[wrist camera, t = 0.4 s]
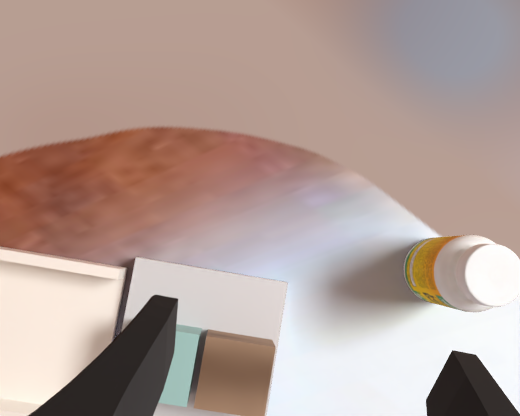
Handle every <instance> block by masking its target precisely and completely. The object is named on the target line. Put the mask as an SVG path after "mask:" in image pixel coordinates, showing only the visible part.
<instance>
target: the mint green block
mask: <svg viewBox="0 0 520 416" xmlns="http://www.w3.org/2000/svg"><path fill="white" fill-rule="evenodd" d="M201 331H202V328H197V327H191V326H185V325H179V324H176V337H175V350H174V355H173V359H172V362H171V366H170V369H169V373H168V376H167V380H166V383H165V386H164V390H163V392H162V395H161V397H160V400H159V402H158V403H163V404H169V405H176V406H182V407H187V404H188V400H189V397H190V392H191V387H192V381H193V376H194V370H195V364H196V359H197V353H198V348H199V342H200V337H201Z"/></svg>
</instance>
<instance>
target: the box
mask: <svg viewBox="0 0 520 416" xmlns="http://www.w3.org/2000/svg"><path fill="white" fill-rule="evenodd" d="M127 269H128V268H126V267H120V266H114V265H108V264H102V263H96V262H90V261H84V260H78V259H72V258H66V257H60V256H54V255H48V254H42V253H36V252H30V251H24V250H19V249H13V248H7V247H1V246H0V416H28V415H29V414H31V413H32V412H34V411H35V410H36V409H38V408H39V407H40V406H41V405H43V404H44V403H45V402H46V401H48V400H49V399H50V398H51V397H53V396H54V395H55V394H56V393H57V392H59V391H60V390H61V389H62V388H63V387H65V386H66V385H67V384H68V383H69V382H70V381H71V380H73V379H74V378H75V377H76V376H77V375H78V374H79V373H80V372H81V371H82V370H83V369H85V368H86V367H87V366H88V365H89V364H90V363H91V362H92V361H93V360H94V359H95V358H96V357H97V356H98V355H99V354H101V353H102V352H103V351H104V349H105V348H106V347H107V346H108V345H109V344H110V343H111V342H112V341H113V340H114V335H115V330H116V325H117V320H118V315H119V310H120V305H121V300H122V295H123V290H124V285H125V280H126V274H127Z"/></svg>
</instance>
